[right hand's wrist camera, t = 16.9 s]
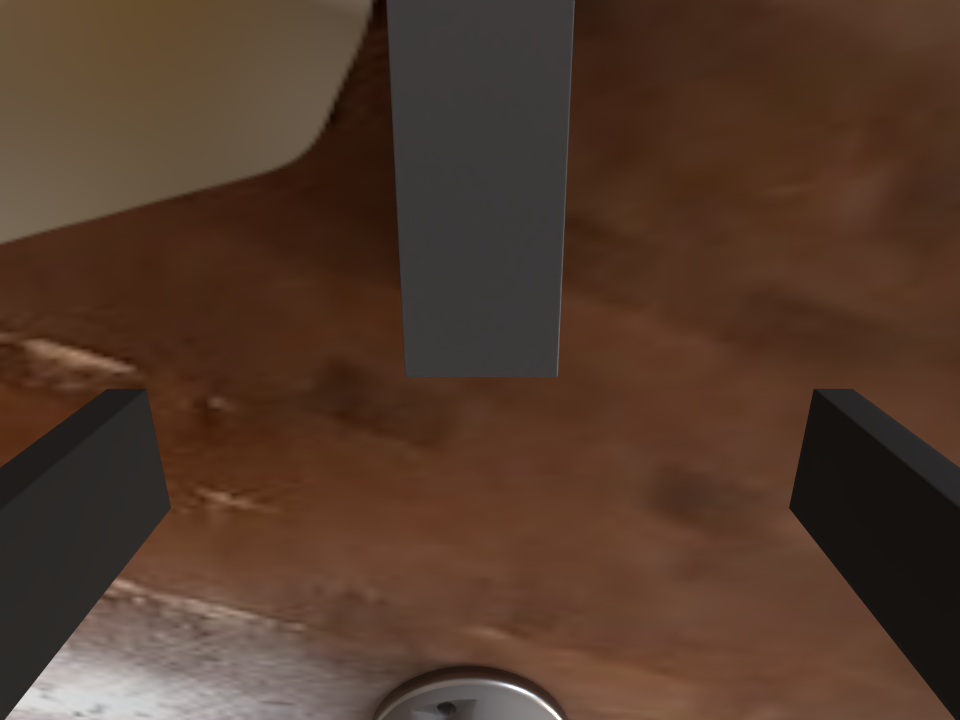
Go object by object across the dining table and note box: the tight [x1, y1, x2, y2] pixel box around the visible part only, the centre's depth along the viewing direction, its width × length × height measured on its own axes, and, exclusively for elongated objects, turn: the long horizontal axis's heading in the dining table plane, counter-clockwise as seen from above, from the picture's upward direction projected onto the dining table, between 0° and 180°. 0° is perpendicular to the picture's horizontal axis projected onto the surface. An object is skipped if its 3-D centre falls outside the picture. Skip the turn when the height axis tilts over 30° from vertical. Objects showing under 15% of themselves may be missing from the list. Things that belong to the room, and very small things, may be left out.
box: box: [386, 0, 575, 377], centre depth 26 cm, size 20×6×11 cm, turn 0°
